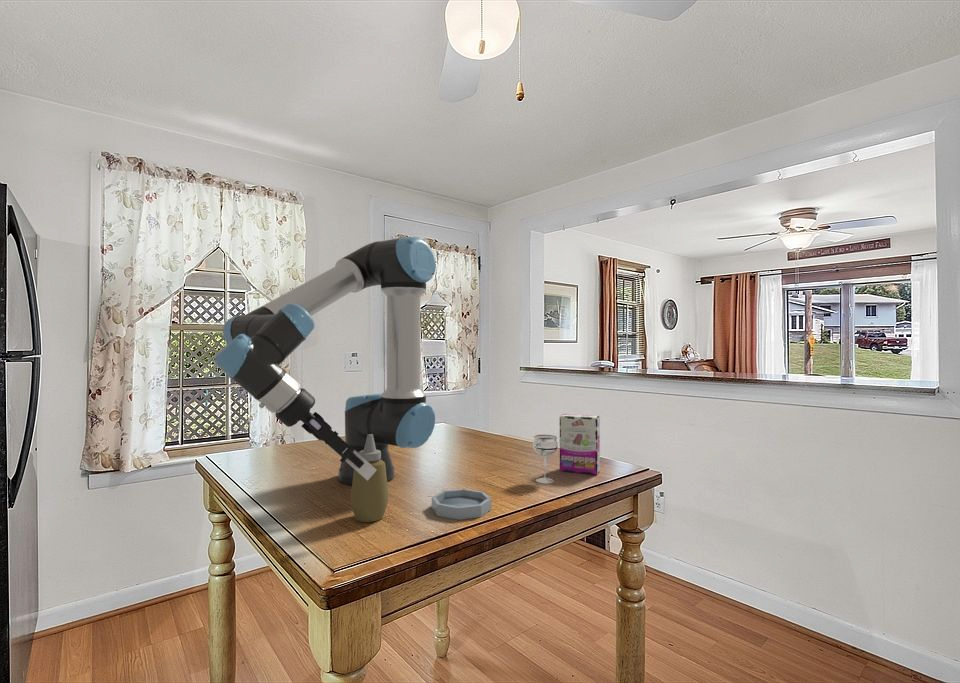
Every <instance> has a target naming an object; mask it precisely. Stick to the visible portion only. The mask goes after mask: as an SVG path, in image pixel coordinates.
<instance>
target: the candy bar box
mask: <svg viewBox="0 0 960 683" xmlns="http://www.w3.org/2000/svg"><path fill="white" fill-rule="evenodd" d="M600 420H601V419H600V415H592V414H591V415H588V414H567V413H563V414H561V415H560V416H559V472H566V473H575V474H587V475H598V474H599V472H600V471H601V460H600V459H601V455H600V454H601V450H600V448H601V446H600V445H601V440H600V439H601V438H600V437H601V432H600V431H601V428H600V426H601V422H600Z"/></svg>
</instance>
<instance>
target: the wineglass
mask: <svg viewBox="0 0 960 683" xmlns="http://www.w3.org/2000/svg"><path fill="white" fill-rule="evenodd" d="M532 438H533V439H534V440H533V442H532V447H533V450H534V451H535V452H536V453H537V454H538V455H540V456H541V457H542V458H543V473H544V474H543V475H544V476H543V477H540V478H536V479H535V481H536V482H537V483H539V484H552V483H554V482H555V480H554V479H552V478H549V477H547V460H548V458H549V456H551V455H553V454H554V453H555V452H556V451H557V450H558V448H559V447H558V445H559V444H558V441H557V439H558V436H557V435H553V434H535V435H533V436H532Z"/></svg>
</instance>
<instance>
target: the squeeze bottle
mask: <svg viewBox="0 0 960 683" xmlns="http://www.w3.org/2000/svg"><path fill="white" fill-rule="evenodd" d="M359 454H360V455H361V456H362V457H363V458H364V459H365V460H366V461H368V462H369V463H370V464H371V465H372V466H373V467H374V468H375V469H376V470H377V471H376V472H375V473H374V474H373V475H372V476H371V477H370V479H369V480H368V481H367V480H366V479H365V478H364V477H363V476H362V475H361V474H359V473H358V472H357V471H356V470H355V469H354V473H353V482H352V485H351V494H350V501H349V502H350V503H349V504H350V506H351V509H352V512H353V514H354V518H355V519H356V521H358V522H362V523H372V522H377V521H380V520H382V519H383V518H384V515H385V512H386V509H387V507H388V504H389V490H388V489H389V488H388V481H387V477H386V467H385V462H384V461H382V460H380V459H381V451H380V450H376V447H375V442H374V438H373V434H368V435H367V438H366V443H365V447H364V450H362V451H360V452H359Z"/></svg>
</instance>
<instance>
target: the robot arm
mask: <svg viewBox="0 0 960 683" xmlns="http://www.w3.org/2000/svg"><path fill="white" fill-rule="evenodd" d="M436 267H437V266H436V259H435V255H434V253H433V250H432V248H430V246H429V244H428V243H427V242H426V241H425V240H424V239H421V238H420V237H416V236H410V237H409V236H407V237H406V236H402V237H399V238H394V239H393V238H392V239H387V240H380V241H374V242H370V243H367V244H365V245H363V246H361V247H360V248H358V249H356V250H355V251H352V252H351V253H349V254H347V255H345V256H344V257H342V258H340V259H339V260H337V261H336V262H335V265H334V266H333V267H332V268H330V269H328V270H326V271H324V272H323V273H321V274H319V275H317V276H315V277H313V278H311V279H309V280H308V281H306V282H304V283H302V284H301V285H299V286H297V287H295V288H293V289H291V290H289V291H287V292H285V293H283V294H282V295H280V296H279V297H276V298H275V299H272V300H270V301H269V302H267V303H264V304H263V305H261V306H260V307H258V308H255V309H254V310H252V311H251V312H249V313H246V314H239V315H235V316H232V317H230V318H229V319H227V321H226V322H225V323H224V325H223V327H222V336H223V339H224V342H226V344H227V345H226V346H224V347H222V349H221V350H220V351H218V353H217V354H215V357H214V363H215V364H216V365H217V366H218V367H219V368H220V369H221V371H222V372H223V373H224V374H225V375H227V376H228V378H229V379H231V380H232V381H233V382H235V383H236V384H237V385H238V386H240V387H241V388H242V389H243V390H244V391H246V392H247V393H248V394H250V396H252V397H253V398H254V399H255V400H256V401H258V402H259V404H258V407H259V408H260V409H263V408H265V409H267V411H268V412H270V413H271V414H273V413H275V414H274V415H275V418H277V419H278V420H279V421H280V422H281V423H282V424H284V426H285V427H288V428H289V427H293V426H295V425H297V423H298V422H300V421H301V422H302V423H303V424H302V425H301V427H302V428H303V429H304V430H305V431H306V432H307V433H308V434H311V435H313V436H314V437H315V438H316V439H317V440H319V441H322V442H324V443H325V444H326V445H327V446H328V447H329V448H330V449H331V450H332V451H334V452H335V453H336V454H337V455H338V456H339V457H340V458H341V459H339V461H340V462H341V463H340V467H339V469H338V474H337V475H338V476H337V477H338V481H339V482H340V483H342V484H344V485H350V486H352V482H353V473H354V469H355V470H356V471H357V472H358V473H359V474H361V475H362V476H363V477H364V478H365V479H366V480H367V481H368V480H369V479H370V477H371V476H372V475H373V474H374V473H375V472H376V471H377V470H376V469H375V468H374V467H373V466H372V465H371V464H370V463H369V462H368V461H366V460H365V459H364V458H363V457H362V456H361V455H360V454H359V452H360V451H362V450H364V447H365V443H366V438H367V435H368V434H373V438H374V442H375V447H376V450H380V451H381V459H380V460H382V461H384V462H385V467H386V477H387V482H389V481H391V480H393V479H394V478H395V467H394V465H393V459H392V457H391V454H390V453H391V452H390V451H389V446H396V447H399V448H403V449H406V448H409V449H417V448H419V447H421V446H424V444H426V443H427V441H428V440H429V439H430V437H431V436H432V435H433V432H434V429H435V426H436V413H435V411H434V409H433V407H432V406H431V405H430V404H428V403H427V394H426V393H425V392H424V391H423V390H422V389H421V297H422V295H423V294H424V293H425V292H426V291H427V283H428V282H430V280H432V278H433V276H435V273H436ZM375 286H380V291H382V293H384V294H385V297H386V389H385V390H384V392H383V393H374V394H372V393H371V394H366V395H363V394H362V395H357V396H350V397H348V398H347V399H346V400H345V410H344V437H345V438H344V439H345V440H344V439H343V438H342V437H341V436H339V433H338V432H337V431H336V430H332V429H333V428H332V426H331V425H330V423H329V424H328V422H326V421H325V420H324V419H325V418H323V417H322V415H321V414H320V413H317V412H316V411H315V412H313V413H312V412H310V411H311V409H313V407H314V406H315V403H316V399H315V397H314V396H313V395H312V394H311V393H309V392H308V391H307V390H306V389H305V388H301V383H299V382H298V381H297V380H296V379H295V378H294V377H293V376H292V375H290V374H289V373H288V371H286V370H285V369H284V368H282V367H281V364H282V363H284V362H285V360H286V359H287V358H288V357H289V356H290V355H291V354H292V353H293V352H294V351H295V350H296V349H298V347H299V346H300V345H301V344H302V343H303V342H304V341H306V340H307V338H308V337H309V335H310V334H311V333H312V332H313V331H314V329H315V321H314V318H313V317H312V316H313V315H315V314H317V313H319V312H320V311H322V310H323V309H325V308H327V307H328V306H330V305H332V304H333V303H335V302H337V301H338V300H340V299H341V298H343V297H345V296H347V295H348V294H349V293H350V294H351V293H354V294H355V293H359V292H361V291H362V290H364V289H367V288H369V287H375Z"/></svg>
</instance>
